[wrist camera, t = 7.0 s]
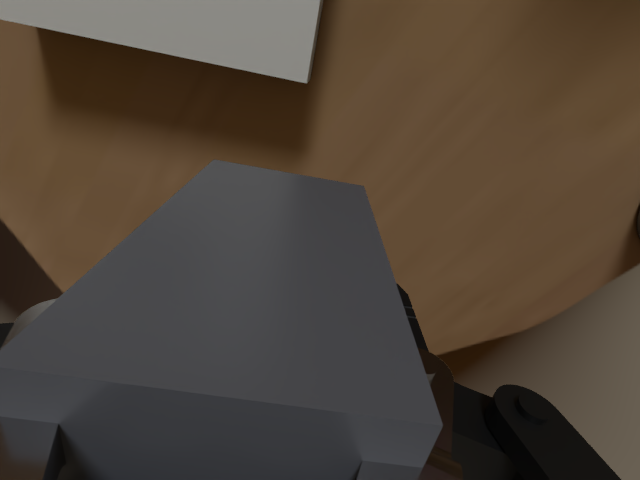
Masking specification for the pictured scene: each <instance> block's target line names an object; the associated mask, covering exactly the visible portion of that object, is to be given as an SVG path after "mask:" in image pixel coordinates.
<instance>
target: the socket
mask: <svg viewBox="0 0 640 480" xmlns="http://www.w3.org/2000/svg"><path fill="white" fill-rule="evenodd" d="M322 6H323V0H0V19H1V20H6V21H11V22H16V23H20V24H25V25H30V26H35V27H40V28H44V29H49V30H54V31H59V32H63V33H68V34H73V35H78V36H82V37H87V38H92V39H97V40H101V41H106V42H111V43H116V44H121V45H125V46H130V47H135V48H140V49H144V50H149V51H154V52H159V53H163V54H168V55H173V56H178V57H183V58H187V59H192V60H197V61H202V62H206V63H211V64H216V65H221V66H225V67H230V68H235V69H240V70H245V71H249V72H254V73H259V74H264V75H268V76H273V77H278V78H283V79H287V80H292V81H297V82H302V83H306V84H307V83H308V82H309V81H310V78H311V72H312V66H313V60H314V54H315V48H316V42H317V36H318V30H319V24H320V18H321V12H322Z"/></svg>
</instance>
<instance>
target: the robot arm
mask: <svg viewBox="0 0 640 480" xmlns="http://www.w3.org/2000/svg"><path fill="white" fill-rule="evenodd" d="M637 230H638V234H639V238H640V211H639V215H638V218H637ZM396 285H397V288H398V291H399V294H400V297H401V300H402V303H403V306H404V309H405V312H406V315H407V318H408V321H409V324H410V327H411V330H412V333H413V336H414V339H415V342H416V345H417V348H418V351H419V354H420V357H421V360H422V363H423V366H424V369H425V372H426V375H427V378H428V381H429V384H430V387H431V390H432V393H433V396H434V399H435V402H436V405H437V408H438V411H439V414H440V417H441V421H442V424H443V427H442V429H441V431H440V433H439V435H438V437H437V440H436V442H435V444H434V446H433V448H432V450H431V452H430V454H429V456H428V458H427V460H426V462H425V464H424V467H423V468H420V467H411V466H403V465H395V464H387V463H379V462H370V461H362V463H361V466H360V469H359V471H358V474H357V477H356V480H621V479H620V478H619V477H618V476H617V475H616V474H615V472H614V471H613V470H612V469H611V468H610V467H609V466H608V465H607V464H606V462H605V461H604V460H603V459H602V458H601V457H600V456H599V455H598V454H597V453H596V451H595V450H594V449H593V448H592V447H591V446H590V445H589V444H588V443H587V442H586V440H585V439H584V438H583V437H582V436H581V435H580V434H579V433H578V432H577V431H576V429H575V428H574V427H573V426H572V425H571V424H570V423H569V422H568V421H567V420H566V418H565V417H564V416H563V415H562V414H561V413H560V412H559V411H558V410H557V409H556V408H555V407H554V406H553V405H552V404H551V403H550V402H549V401H548V400H546V399H545V398H543V397H542V396H541V395H539V394H537V393H535V392H534V391H532V390H529V389H527V388H524V387H521V386H518V385H503V386H500V387H499V388H498V389H497V390H496V392H495V393H494V395H493V397H489V396H487V395H484V394H482V393H479V392H477V391H474V390H471V389H469V388H466V387H464V386H462V385H460V384H458V383H455V382H454V377H453V374H452V372H451V370H450V369H449V367H448V366H447V365H446V364H445V363H444V362H443V361H442V360H441V359H440V358H438V357H437V356H436V355H434V354H432V353H430V352H429V351H428V348H427V346H426V343H425V340H424V337H423V335H422V332H421V329H420V326H419V324H418V321H417V319H416V315H415V313H414V310H413V309H412V305H411V302H410V299H409V296H408V294H407V293H406V292H405V291H404V290H403V289H402V288H401V287H400V286H399V285H398V284H396ZM56 300H57V299H53V300H49V301H45V302H43V303H40V304H37V305H35V306H33V307H31V308H29V309H28V310H26V311H25V312H23V313H22V314H21V315H20V316H19V317H18V318H17V320H16V321H15V323H3V324H0V350H1V349H2V348H3V347H4V346H5V345H6V344H8V343H9V342H10V341H11V340H12V339H13V338H14V337H15V336H16V335H18V334H19V333H20V332H21V331H22V330H23V329H24V328H25V327H27V326H28V325H29V324H30V323H31V322H32V321H33V320H34V319H36V318H37V317H38V316H39V315H40V314H41V313H42V312H43V311H45V310H46V309H47V308H48V307H49V306H50V305H51V304H52V303H53V302H55V301H56ZM65 465H67V464H66V459H65V454H64V449H63V444H62V439H61V434H60V429H59V424H58V423H50V422H42V421H34V420H26V419H17V418H9V417H1V416H0V480H57V478H58V475H59V473H60V471H61V469H62V467H63V466H65Z"/></svg>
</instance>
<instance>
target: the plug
mask: <svg viewBox="0 0 640 480" xmlns="http://www.w3.org/2000/svg"><path fill="white" fill-rule="evenodd" d="M0 416H1V417H9V418H17V419H26V420H34V421H42V422H50V423H58V424H59V429H60V434H61V439H62V444H63V449H64V454H65V459H66V464H67V465H65V466H63V467H62V469H61V471H60V473H59V475H58V478H57V480H356V477H357V474H358V471H359V469H360V466H361V463H362V461H370V462H379V463H387V464H395V465H403V466H411V467H420V468H423V467H424V464H425V462H426V460H427V458H428V456H429V454H430V452H431V450H432V448H433V446H434V444H435V442H436V440H437V437H438V435H439V433H440V431H441V429H442V427H443V424H442V421H441V417H440V414H439V411H438V408H437V405H436V402H435V399H434V396H433V393H432V390H431V387H430V384H429V381H428V378H427V375H426V372H425V369H424V366H423V363H422V360H421V357H420V354H419V351H418V348H417V345H416V342H415V339H414V336H413V333H412V330H411V327H410V324H409V321H408V318H407V315H406V312H405V309H404V306H403V303H402V300H401V297H400V294H399V291H398V288H397V285H396V282H395V279H394V276H393V273H392V270H391V267H390V264H389V261H388V258H387V255H386V252H385V249H384V246H383V243H382V239H381V236H380V233H379V230H378V227H377V224H376V221H375V218H374V215H373V212H372V209H371V206H370V203H369V200H368V197H367V194H366V191H365V188H364V186H361V185H355V184H349V183H344V182H338V181H332V180H327V179H321V178H315V177H310V176H304V175H298V174H293V173H287V172H281V171H276V170H270V169H264V168H259V167H253V166H248V165H242V164H236V163H231V162H225V161H219V160H213V161H212V162H210V163H209V164H208V165H207V166H206V167H205V168H204V169H203V170H202V171H200V172H199V173H198V174H197V175H196V176H195V177H194V178H193V179H191V180H190V181H189V182H188V183H187V184H186V185H185V186H184V187H182V188H181V189H180V190H179V191H178V192H177V193H176V194H175V195H173V196H172V197H171V198H170V199H169V200H168V201H167V202H166V203H165V204H163V205H162V206H161V207H160V208H159V209H158V210H157V211H156V212H154V213H153V214H152V215H151V216H150V217H149V218H148V219H147V220H145V221H144V222H143V223H142V224H141V225H140V226H139V227H138V228H136V229H135V230H134V231H133V232H132V233H131V234H130V235H129V236H128V237H126V238H125V239H124V240H123V241H122V242H121V243H120V244H119V245H117V246H116V247H115V248H114V249H113V250H112V251H111V252H110V253H108V254H107V255H106V256H105V257H104V258H103V259H102V260H101V261H99V262H98V263H97V264H96V265H95V266H94V267H93V268H92V269H90V270H89V271H88V272H87V273H86V274H85V275H84V276H83V277H82V278H80V279H79V280H78V281H77V282H76V283H75V284H74V285H73V286H71V287H70V288H69V289H68V290H67V291H66V292H65V293H64V294H62V295H61V296H60V297H59V298H58V299H57V300H56V301H55V302H53V303H52V304H51V305H50V306H49V307H48V308H47V309H46V310H45V311H43V312H42V313H41V314H40V315H39V316H38V317H37V318H36V319H34V320H33V321H32V322H31V323H30V324H29V325H28V326H27V327H25V328H24V329H23V330H22V331H21V332H20V333H19V334H18V335H16V336H15V337H14V338H13V339H12V340H11V341H10V342H9V343H8V344H6V345H5V346H4V347H3V348H2V349H1V350H0Z"/></svg>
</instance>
